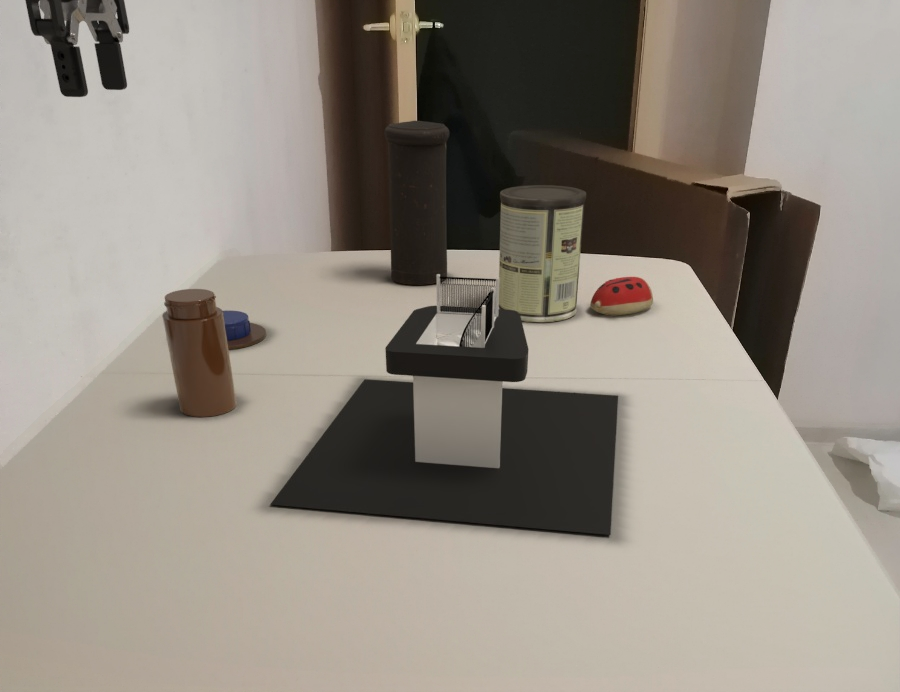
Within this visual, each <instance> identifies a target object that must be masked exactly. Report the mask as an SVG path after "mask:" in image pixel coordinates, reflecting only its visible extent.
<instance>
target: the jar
mask: <svg viewBox="0 0 900 692" xmlns="http://www.w3.org/2000/svg"><path fill="white" fill-rule="evenodd" d="M216 298H217V296H216V294H215V292H214V291H213V290H210V289H204V288H186V289H178V290H174V291H171V292H168V293H167V294H165V295H164V307H165V308H166V311H164V312H163V313H162V316H161V317H162V321H163V327H164V333H165V338H166V342H167V348H168V354H169V358H170V364H171V369H172V374H173V379H174V380H173V381H174V384H175V385H174V386H175V388H176V389H175V390H176V395H177V400H178V405H179V410H180V412H181V413H182V414H184V415H187V416H190V417H197V418H207V417H215V416H220V415H224V414H227V413H229V412H231V411H233V410H234V409H235V408H236V407H237V403H238V402H237V396H236V389H235V383H234V376H233V371H232V362H231V357H230V350H229V349H228V343H227V336H226V330H225V323H224V316H223V311H224V310H223V309H222V308H220V307H218V306H217V301H216Z"/></svg>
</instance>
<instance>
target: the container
mask: <svg viewBox="0 0 900 692" xmlns="http://www.w3.org/2000/svg"><path fill="white" fill-rule="evenodd" d="M384 136H385V139H386V141H387V143H388V173H389V174H388V176H389V230H390V231H389V232H390V233H389V234H390V276H391V277H390V279H391V280H392V281H394V282H396V283H398V284H401V285H412V286H413V285H415V286H423V285H425V286H426V285H433V284H437V274H440V277H448V243H447V239H448V237H447V236H448V235H447V142H448V139H449V138H450V130H449V128H448V126H446V125H445V124H444V123H440V122H438V123H437V122H433V121H432V122H431V121H424V120H408V121H400V122H395V123H389V124H388V125H387V126H386V127H385V129H384ZM444 281H446V279H444V280H443V279H442V282H444ZM440 283H441V278H440Z"/></svg>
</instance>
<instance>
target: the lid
mask: <svg viewBox="0 0 900 692" xmlns="http://www.w3.org/2000/svg"><path fill="white" fill-rule="evenodd" d="M222 311H223V316H224V323H225V330H226V336H227V341H230V340H236V339H240V338H243V337H245V336H247V335H249V334H250V332H251V329H250V323H251V322H250V320H249V314H247V313H246V312H243V311H240V310H222Z"/></svg>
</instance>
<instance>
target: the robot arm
mask: <svg viewBox="0 0 900 692" xmlns="http://www.w3.org/2000/svg"><path fill="white" fill-rule="evenodd" d="M24 1H25V7H26V11H27V16H28V21H29V27H30V30H31V32H32V34H33V35H34V36H35V37H42V38H43V40H44V42H45V43H46V45H50V49H51V54H52V58H53V63H54V67H55V73H56V77H57V82H58V87H59V91H60V93H61V95H62V96H64V97H67V98H83V97H87V96H88V93H89V89H88V83H87V79H86V73H85V69H84V64H83V63H84V62H83V57H82V53H81V48H80V46H77V45H78V43H79V31H80V30H79V29H80V23H81V22H85V23H86V25H87V27H88V30H89V32H90V34H91V36H92V38H93V40H94V41H95V43H94V49H95V54H96V60H97V65H98V70H99V76H100V80H101V85H102V87H103V88H104V89H105V90H107V91H109V90H110V91H123V90H126V89H127V87H128V81H127V76H126V70H125V64H124V63H125V62H124V59H123V52H122V47H121V43H123V42H124V35H129V33H130V24H129V19H128V14H127V8H126V4H125V3H126V2H125V0H24ZM41 12H42V13H43V14H44V16H43V18H42V15H41Z"/></svg>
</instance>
